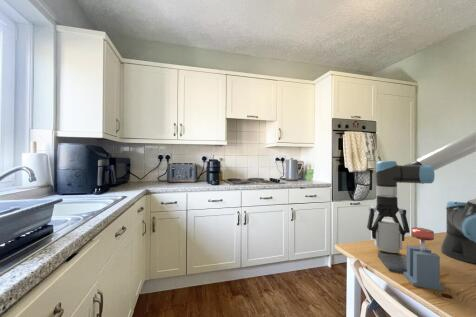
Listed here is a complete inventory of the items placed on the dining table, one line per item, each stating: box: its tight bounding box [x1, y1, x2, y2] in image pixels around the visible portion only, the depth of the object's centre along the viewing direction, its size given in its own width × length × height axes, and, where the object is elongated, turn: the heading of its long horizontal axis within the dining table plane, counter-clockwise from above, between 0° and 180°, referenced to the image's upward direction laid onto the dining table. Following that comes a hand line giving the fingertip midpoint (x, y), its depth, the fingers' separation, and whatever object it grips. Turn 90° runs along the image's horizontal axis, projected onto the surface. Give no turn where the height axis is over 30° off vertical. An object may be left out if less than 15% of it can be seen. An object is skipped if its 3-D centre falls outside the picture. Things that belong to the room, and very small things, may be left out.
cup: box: [376, 218, 401, 254], centre depth 94 cm, size 8×8×12 cm
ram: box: [411, 227, 435, 252], centre depth 71 cm, size 6×6×10 cm
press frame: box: [402, 245, 445, 291], centre depth 71 cm, size 8×7×10 cm
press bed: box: [377, 252, 407, 274], centre depth 82 cm, size 12×12×2 cm
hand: (388, 247), depth 94 cm, fingers closed on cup, 8 cm apart
